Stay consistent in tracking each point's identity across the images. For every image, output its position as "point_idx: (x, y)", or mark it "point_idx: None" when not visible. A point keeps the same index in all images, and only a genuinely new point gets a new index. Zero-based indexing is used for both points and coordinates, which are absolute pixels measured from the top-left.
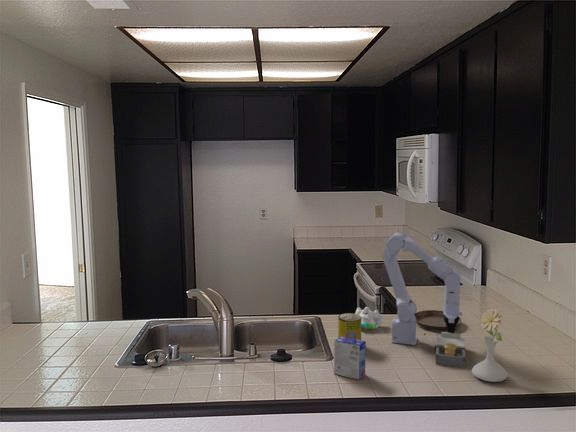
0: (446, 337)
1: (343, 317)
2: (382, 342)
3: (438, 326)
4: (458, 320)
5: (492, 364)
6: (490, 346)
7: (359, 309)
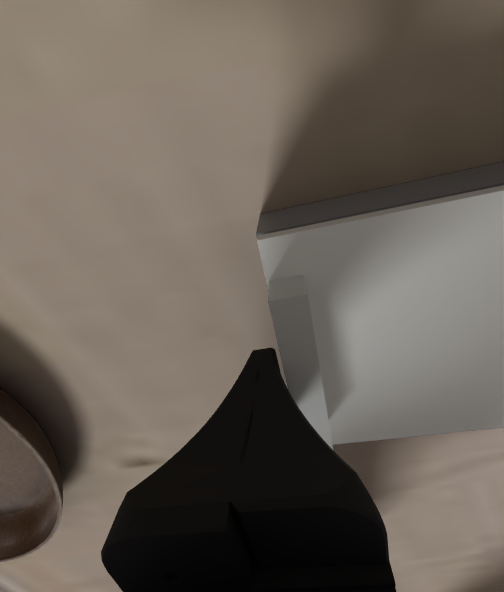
0: (327, 386)
1: None
2: None
3: (33, 447)
4: (352, 502)
5: None
6: None
7: None
